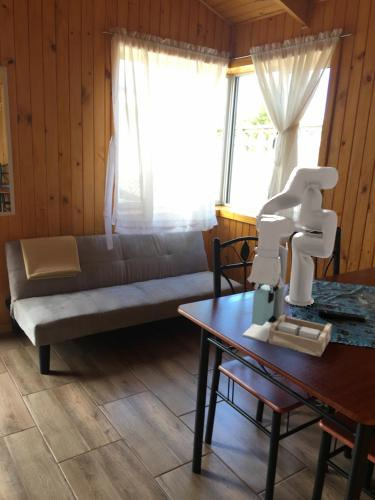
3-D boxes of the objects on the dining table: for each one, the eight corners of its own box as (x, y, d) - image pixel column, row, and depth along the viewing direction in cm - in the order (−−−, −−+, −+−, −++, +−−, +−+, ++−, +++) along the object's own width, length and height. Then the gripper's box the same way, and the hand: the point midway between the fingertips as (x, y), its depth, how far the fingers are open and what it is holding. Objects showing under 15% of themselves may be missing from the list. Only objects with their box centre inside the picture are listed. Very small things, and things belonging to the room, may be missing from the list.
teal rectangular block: (251, 323, 151) (253, 292, 148) (263, 312, 161) (265, 283, 158) (262, 325, 149) (264, 294, 146) (273, 315, 159) (275, 285, 156)
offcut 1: (280, 338, 151) (281, 321, 149) (296, 342, 148) (298, 325, 146) (276, 342, 147) (278, 325, 146) (293, 346, 145) (295, 329, 143)
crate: (281, 327, 159) (283, 313, 158) (330, 339, 151) (331, 323, 149) (268, 343, 146) (269, 327, 145) (320, 356, 138) (322, 340, 136)
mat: (258, 320, 165) (258, 319, 165) (280, 326, 161) (280, 324, 161) (242, 335, 152) (242, 334, 152) (266, 341, 147) (266, 340, 147)
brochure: (281, 324, 163) (288, 250, 155) (267, 322, 164) (273, 249, 156) (281, 310, 176) (287, 242, 169) (267, 309, 177) (273, 241, 170)
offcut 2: (300, 343, 147) (302, 326, 146) (317, 347, 144) (319, 330, 143) (297, 347, 144) (299, 330, 142) (315, 352, 141) (317, 334, 139)
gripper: (242, 251, 150) (239, 299, 154) (287, 258, 142) (283, 308, 146) (250, 247, 156) (246, 293, 160) (293, 254, 148) (289, 302, 152)
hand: (264, 300), depth 153 cm, fingers closed on teal rectangular block, 4 cm apart
